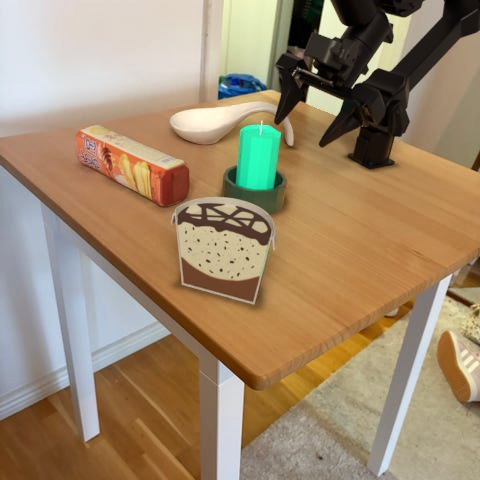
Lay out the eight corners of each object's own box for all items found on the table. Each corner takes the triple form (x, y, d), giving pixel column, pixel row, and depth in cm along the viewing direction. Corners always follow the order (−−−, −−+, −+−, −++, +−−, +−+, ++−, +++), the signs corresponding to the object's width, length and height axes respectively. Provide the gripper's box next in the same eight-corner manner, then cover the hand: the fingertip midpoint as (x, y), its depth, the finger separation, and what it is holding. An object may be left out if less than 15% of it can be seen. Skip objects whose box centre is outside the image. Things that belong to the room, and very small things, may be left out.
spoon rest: (169, 149, 96) (169, 109, 92) (169, 126, 105) (169, 88, 101) (296, 155, 99) (302, 116, 95) (286, 132, 108) (291, 95, 104)
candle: (248, 209, 80) (256, 130, 72) (227, 192, 84) (233, 115, 76) (280, 202, 83) (291, 125, 75) (258, 186, 86) (267, 111, 79)
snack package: (74, 165, 88) (69, 125, 83) (106, 156, 92) (103, 116, 88) (160, 213, 78) (159, 169, 73) (192, 200, 82) (194, 158, 77)
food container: (280, 280, 67) (291, 209, 61) (266, 308, 62) (277, 233, 56) (190, 257, 69) (192, 186, 63) (170, 281, 65) (170, 207, 58)
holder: (261, 183, 88) (263, 160, 86) (295, 208, 82) (299, 184, 80) (211, 193, 84) (212, 169, 82) (243, 220, 78) (245, 195, 76)
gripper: (292, -7, 78) (232, 84, 80) (398, 29, 69) (329, 130, 71) (315, 43, 88) (261, 123, 89) (411, 80, 79) (349, 168, 81)
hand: (297, 134), depth 82 cm, fingers open, 9 cm apart
